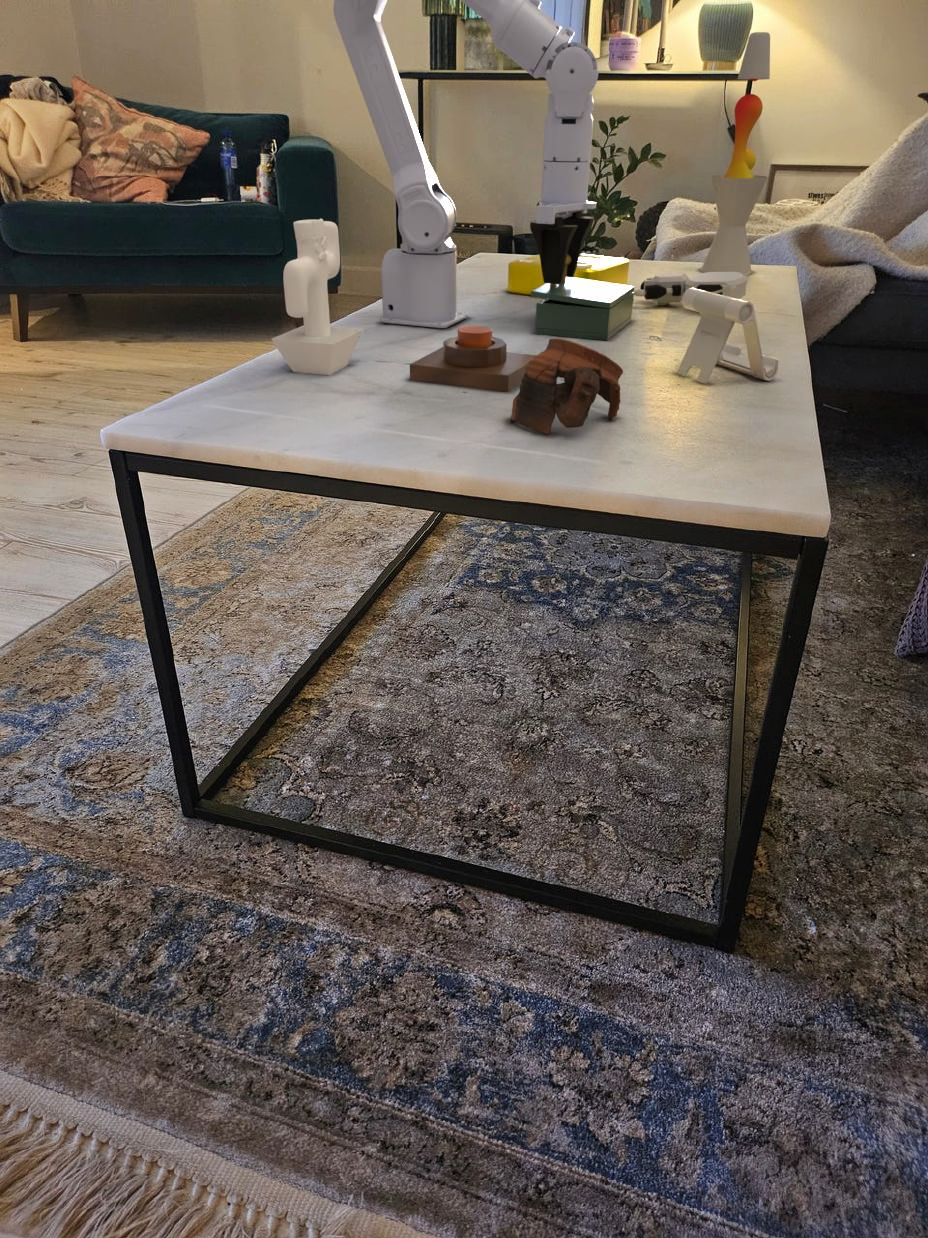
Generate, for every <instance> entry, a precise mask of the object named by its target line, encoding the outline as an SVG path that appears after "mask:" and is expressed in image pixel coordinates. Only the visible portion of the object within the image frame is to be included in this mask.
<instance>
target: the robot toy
mask: <svg viewBox="0 0 928 1238" xmlns="http://www.w3.org/2000/svg"><path fill="white" fill-rule="evenodd" d="M749 275H751V274H750V273H745V274H742V273H739V272H706V273H704V272H700V273H697V274H694V275H691V276H688V275H687V273H685V272H662V273H657V274H655V275H654V276H653V277H648V278H646V279H644V280H643V281H642V283H641V284H640V287H639V289H634V296H635V297H643V298H644V299H645V300H646V301H649V300H652V301H653V302H654V303H656V304H657V305H658V306H668V303H680V302H682V296H683V294H684V292H685V291H686V290H687V289H689V288H695V289H699V290H703V291H707V292H711V293H715V294H719V295H723V296H727V297H731V298H735V299H740V300H742V299H743V297H745V296H746V294H747V283H748V282H747V281H748V279H747V277H748V276H749Z"/></svg>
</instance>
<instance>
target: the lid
mask: <svg viewBox="0 0 928 1238" xmlns="http://www.w3.org/2000/svg"><path fill="white" fill-rule="evenodd" d="M570 263H571V257H570V256H569V255H568V254H567V257H566V263H565V269H564V274H563V278H562V281H561V283H560V284H551V283H546V284H544V285H542V286H540V287H538V288H536V289H534V290H532V291H531V295H530V297H531V298H537V299H542V300H544V299H549V300H556V301H562V302H569V303H575V304H582V305H588V306H595V307H601V308H608V309H610V308H611V307H613V306H614V305H615V304H617V303H618V302H620V301H621V300H623V299H624V298H625V297H627V296H628V295H630V294H631V293H633V292H634V291H635V285H634V286H633V285H628V284H627V285H621V284H614V283H607V282H600V281H593V280H586V279H579V278H572V277H566V275H567V266H568V265H569V264H570Z"/></svg>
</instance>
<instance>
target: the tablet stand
mask: <svg viewBox="0 0 928 1238" xmlns="http://www.w3.org/2000/svg"><path fill="white" fill-rule="evenodd" d="M681 304H682V307H683V308H684V309H686V310H690V311H693V312H697V313H699V315H700V316H699V317H700V318H699V321H698V323H697V326H696V328H695V331H694V332H693V335H692V337H691V340H690V342H689V344H688V346H687V348H686V351H685V353H684V355H683V358H682V360H681V362H680V364H679V366H678V368H677V374H678V375H680V376H683V377H685V378H686V377H687V375H688V374H689V372H690V370H691V369H692V368H693V367H696V368H699V373H698V376H697V379H696V381H697V382H699V383H700V384H707V383H708V382H709V380H710V378H711V376H712V374H713V372H714V369H715V368H716V366H721V367H723V366H724V367H726V368H728V369H732V370H734V371H738V372H741V373H744V374H747V375H750V376H752V377H755V378H756V379H759V380H762V381H763V380H764V381H769V382H770V381H772V380H773V379H774V378H775V377H776V376H777V374H778V371H779V358H776V357H773V356H769V355H767V354H763V351H762V346H761V340H760V334H759V328H758V323H757V316H756V312H755V311H756V310H755V307H754V304H753V303H752V302H750V301H747V300H743V299H735V298H731V297H727V296H723V295H719V294H715V293H711V292H707V291H703V290H699V289H695V288H689V289H687V290H686V291H685V292H684V294H683V296H682V300H681ZM735 323H736V324H738V325H739V324H740V325H742V330H743V337H744V340H745V346H746V353H747V356H745V355H743V354H742V352H743V351H742V350H743V348H742V347H740V346H737V345H735V344H734V345H733V344H731V343H727V341H728V339H729V336H730V334H731V332H732V330H733V327H734V325H735Z"/></svg>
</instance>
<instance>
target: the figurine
mask: <svg viewBox="0 0 928 1238" xmlns="http://www.w3.org/2000/svg"><path fill="white" fill-rule="evenodd" d="M292 224H293V230H294V235H295V241H296V249H297V250H296V251H297V258H294V259H292V260H289V261H287V263H286V264H285V266H284V269H283V278H282V279H283V281H282V282H283V292H284V302H285V311H286V313H287V315H288V316H290V317H291V318H297V319H299V318H302V319H303V325H301V326H299V327H296V328H294V329H292V330H289V331H287V332H284V333H282V334H279V335H277V336H274V337H272V338H271V339H270V340H271V341H272V343H273V344H274V346H275V347H276V349H277V351H278V353H280V354H281V356H282V357H283V359H284V360H285V362H286V363H287V365H288V367H289V368H290V369H291V371H292V372H293V373H294V372H295V373H304V374H312V375H323V376H330V375H332V374H334V373H336V372H338V371H340V370H342V369H343V368H345V367H347V366H348V365H349V363H350V361H351V358H352V355H353V353H354V351H355V349H356V346H357V344H358V342H359V340H360V337H361V336H362V333H363V329H355V328H342V327H331V319H330V305H329V291H328V280H331V279H333V278H335V277H337V275H338V274H339V272H340V267H341V252H340V251H341V250H340V238H339V237H340V235H339V228H338V225H337V224H336V222H334V221H330V220H324V219H323V218H319V219H302V220H296V221H293V223H292Z"/></svg>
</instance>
